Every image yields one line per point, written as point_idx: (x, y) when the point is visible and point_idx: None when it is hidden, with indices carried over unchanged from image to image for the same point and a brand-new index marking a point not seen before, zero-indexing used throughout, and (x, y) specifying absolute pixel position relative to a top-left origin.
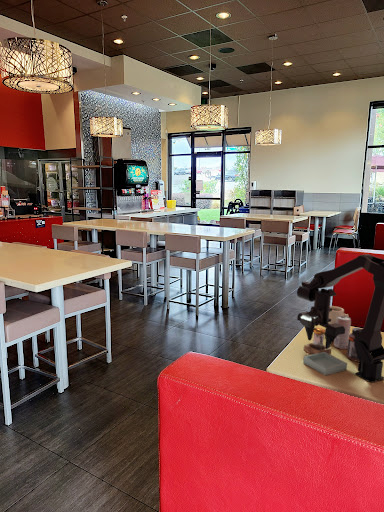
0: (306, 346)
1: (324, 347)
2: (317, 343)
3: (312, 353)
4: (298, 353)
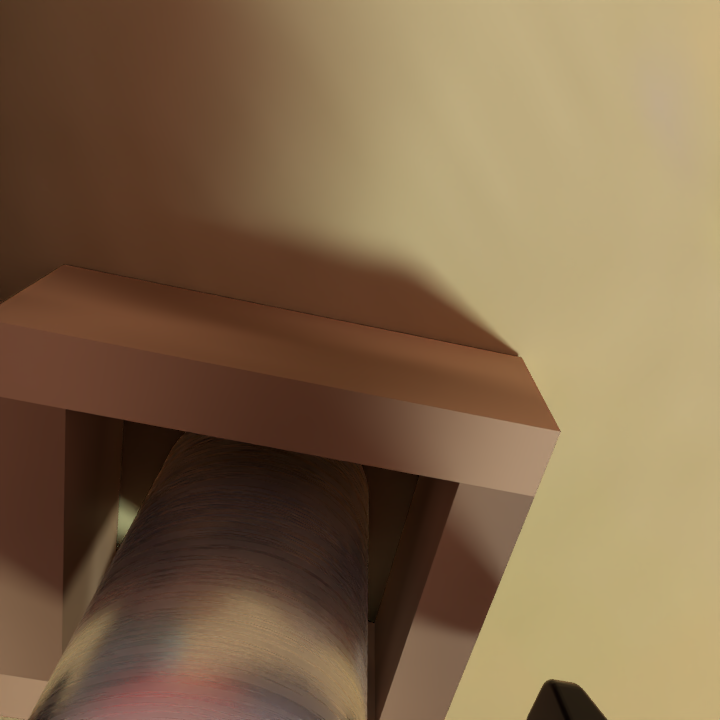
0: (465, 402)
1: None
2: (124, 611)
3: (233, 310)
4: (515, 44)
